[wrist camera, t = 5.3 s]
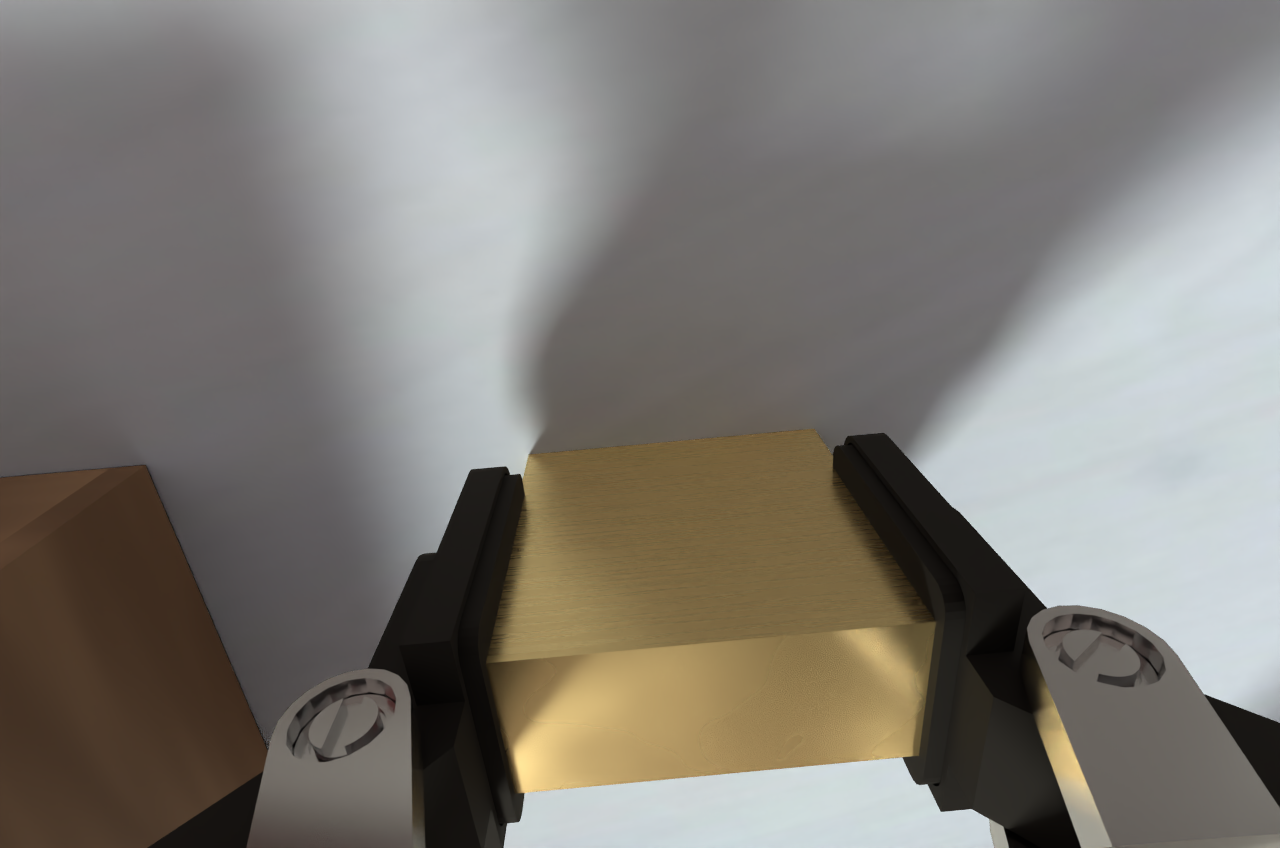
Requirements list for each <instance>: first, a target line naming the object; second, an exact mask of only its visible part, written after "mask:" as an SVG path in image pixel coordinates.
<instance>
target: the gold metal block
mask: <svg viewBox="0 0 1280 848" xmlns="http://www.w3.org/2000/svg"><path fill="white" fill-rule="evenodd" d="M523 486H524V492H525V497H524V501H523V505H522V509H521V514H520V518H519V522H518V527H517V531H516V535H515V540H514V544H513V548H512V553H511V557H510V561H509V566H508V570H507V574H506V579H505V583H504V587H503V592H502V596H501V600H500V604H499V609H498V613H497V617H496V622H495V626H494V630H493V635H492V639H491V643H490V648H489V652H488V656H487V661H486V666H487V671H488V675H489V680H490V684H491V689H492V693H493V698H494V702H495V707H496V711H497V716H498V720H499V725H500V729H501V734H502V738H503V743H504V747H505V752H506V756H507V761H508V765H509V770H510V774H511V778H512V783H513V787H514V792H515V794H516V793H526V792H537V791H547V790H558V789H569V788H579V787H590V786H601V785H611V784H622V783H633V782H643V781H654V780H665V779H675V778H686V777H697V776H707V775H718V774H729V773H739V772H750V771H761V770H771V769H782V768H793V767H803V766H814V765H825V764H835V763H846V762H857V761H867V760H878V759H889V758H899V757H910V756H919V749H920V742H921V734H922V726H923V718H924V711H925V703H926V695H927V687H928V679H929V672H930V664H931V656H932V648H933V640H934V633H935V625H936V621H935V620H934V618H933V617H932V615H931V614H930V612H929V611H928V609H927V608H926V606H925V605H924V603H923V602H922V600H921V599H920V597H919V596H918V594H917V593H916V591H915V590H914V588H913V587H912V585H911V584H910V582H909V581H908V579H907V578H906V576H905V575H904V573H903V572H902V570H901V569H900V567H899V566H898V564H897V563H896V561H895V560H894V558H893V557H892V555H891V554H890V552H889V551H888V549H887V548H886V546H885V545H884V543H883V542H882V540H881V539H880V537H879V536H878V534H877V533H876V531H875V530H874V528H873V527H872V525H871V524H870V522H869V521H868V519H867V517H866V516H865V514H864V513H863V511H862V510H861V508H860V507H859V505H858V504H857V502H856V501H855V499H854V498H853V496H852V495H851V493H850V492H849V490H848V489H847V487H846V486H845V484H844V483H843V481H842V480H841V478H840V477H839V475H838V474H837V472H836V471H835V469H834V468H833V455H832V454H831V452H830V451H829V450H828V448H827V447H826V445H825V444H824V442H823V441H822V439H821V438H820V436H819V435H818V434H817V432H816V431H815V429H806V430H795V431H783V432H772V433H761V434H750V435H739V436H728V437H717V438H706V439H695V440H684V441H673V442H662V443H650V444H639V445H628V446H617V447H606V448H595V449H584V450H573V451H562V452H551V453H540V454H529V456H528V460H527V464H526V468H525V472H524V477H523Z"/></svg>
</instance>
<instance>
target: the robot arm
mask: <svg viewBox="0 0 1280 848" xmlns="http://www.w3.org/2000/svg"><path fill="white" fill-rule="evenodd" d="M833 468H834V469H835V471H836V472H837V474H838V475H839V477H840V478H841V480H842V481H843V483H844V484H845V486H846V487H847V489H848V490H849V492H850V493H851V495H852V496H853V498H854V499H855V501H856V502H857V504H858V505H859V507H860V508H861V510H862V511H863V513H864V514H865V516H866V517H867V519H868V521H869V522H870V524H871V525H872V527H873V528H874V530H875V531H876V533H877V534H878V536H879V537H880V539H881V540H882V542H883V543H884V545H885V546H886V548H887V549H888V551H889V552H890V554H891V555H892V557H893V558H894V560H895V561H896V563H897V564H898V566H899V567H900V569H901V570H902V572H903V573H904V575H905V576H906V578H907V579H908V581H909V582H910V584H911V585H912V587H913V588H914V590H915V591H916V593H917V594H918V596H919V597H920V599H921V600H922V602H923V603H924V605H925V606H926V608H927V609H928V611H929V612H930V614H931V615H932V617H933V618H934V620H935V621H936V625H935V633H934V640H933V648H932V656H931V664H930V672H929V679H928V687H927V695H926V703H925V711H924V718H923V726H922V734H921V742H920V749H919V756H910V757H903V760H904V762H905V764H906V766H907V768H908V770H909V773H910V775H911V776H912V778H913V780H914V781H915V782H916V784H919V785H924V784H928V786H929V788H930V790H931V792H932V794H933V796H934V798H935V800H936V803H937V805H938V807H939V809H940V811H941V812H944V811H954V810H965V809H973V810H975V811H976V812H978V813H980V814H982V815H983V816H985V817H987V818H989V823H990V833H991V837H992V841H993V845H994V848H1280V723H1278V722H1276V721H1273V720H1270V719H1268V718H1265V717H1263V716H1260V715H1257V714H1255V713H1252V712H1249V711H1247V710H1244V709H1241V708H1239V707H1236V706H1234V705H1231V704H1228V703H1226V702H1223V701H1220V700H1218V699H1215V698H1212V697H1210V696H1207V695H1205V694H1203V692H1202V691H1201V689H1200V688H1199V686H1198V685H1197V683H1196V682H1195V680H1194V679H1193V677H1192V676H1191V674H1190V673H1189V671H1188V670H1187V668H1186V667H1185V665H1184V664H1183V663H1182V661H1181V660H1180V658H1179V657H1178V655H1177V654H1176V653H1175V652H1174V651H1173V650H1172V648H1171V647H1170V646H1169V645H1168V644H1167V643H1166V642H1165V641H1164V640H1163V639H1162V638H1160V637H1159V636H1157V635H1156V634H1155V633H1153V632H1152V631H1150V630H1149V629H1148V628H1146V627H1144V626H1142V625H1140V624H1138V623H1136V622H1134V621H1132V620H1130V619H1128V618H1126V617H1124V616H1121V615H1118V614H1115V613H1112V612H1109V611H1105V610H1102V609H1098V608H1091V607H1085V606H1079V605H1071V606H1056V607H1052V608H1048V609H1047V608H1046V607H1045V606H1044V604H1043V603H1042V602H1041V601H1040V600H1039V599H1038V598H1037V597H1036V596H1035V595H1034V593H1033V592H1032V591H1031V590H1030V589H1029V588H1028V587H1027V586H1026V585H1025V584H1024V583H1023V581H1022V580H1021V579H1020V578H1019V577H1018V576H1017V575H1016V574H1015V573H1014V572H1013V570H1012V569H1011V568H1010V567H1009V566H1008V565H1007V564H1006V563H1005V562H1004V561H1003V559H1002V558H1001V557H1000V556H999V555H998V554H997V553H996V552H995V551H994V550H993V549H992V547H991V546H990V545H989V544H988V543H987V542H986V541H985V540H984V539H983V538H982V536H981V535H980V534H979V533H978V532H977V531H976V530H975V529H974V528H973V527H972V525H971V524H970V523H969V522H968V521H967V520H966V519H965V518H964V517H963V516H962V515H961V513H960V512H958V511H957V510H956V509H954V508H952V507H951V505H950V504H949V503H948V502H947V501H946V500H945V499H944V498H943V497H942V495H941V494H940V493H939V492H938V491H937V490H936V489H935V488H934V487H933V486H932V484H931V483H930V482H929V481H928V480H927V479H926V478H925V477H924V476H923V474H922V473H921V472H920V471H919V470H918V469H917V468H916V467H915V466H914V465H913V463H912V462H911V461H910V460H909V459H908V458H907V457H906V456H905V455H904V453H903V452H902V451H901V450H900V449H899V448H898V447H897V446H896V445H895V444H894V442H893V441H892V440H891V439H890V438H889V437H888V436H887V435H886V434H885V433H878V434H866V435H855V436H848V437H847V438H846V440H845V443H844V445H842V446H836V447H835V449H834V453H833ZM524 497H525V492H524V486H523V481H522V477H521V475H520V474H515V475H510V473H509V470H508V468H507V467H494V468H483V469H472V470H471V471H470V472H469V474H468V477H467V479H466V482H465V484H464V487H463V489H462V492H461V494H460V496H459V499H458V501H457V504H456V506H455V509H454V511H453V514H452V516H451V519H450V521H449V524H448V526H447V529H446V531H445V533H444V536H443V538H442V541H441V543H440V546H439V548H438V551H437V553H427V554H422V555H420V556H419V557H418V559H417V560H416V562H415V564H414V566H413V569H412V571H411V573H410V575H409V577H408V580H407V582H406V584H405V586H404V589H403V591H402V593H401V595H400V598H399V600H398V602H397V604H396V607H395V609H394V611H393V613H392V616H391V618H390V620H389V622H388V625H387V627H386V629H385V631H384V634H383V636H382V638H381V640H380V642H379V645H378V647H377V649H376V651H375V654H374V656H373V658H372V660H371V663H370V665H369V667H368V669H361V670H355V671H349V672H346V673H343V674H340V675H338V676H335V677H332V678H329V679H327V680H325V681H323V682H322V683H320V684H318V685H317V686H315V687H313V688H311V689H310V690H308V691H307V692H306V693H304V694H303V695H302V696H301V697H300V698H298V699H297V700H296V701H295V702H294V703H292V704H291V705H290V707H289V708H288V709H287V710H286V712H285V713H284V714H283V715H282V717H281V718H280V719H279V721H278V722H277V725H276V727H275V729H274V732H273V734H272V737H271V740H270V744H269V749H268V753H267V758H266V762H265V767H264V771H263V772H261V773H260V774H258V775H257V776H255V777H254V778H252V779H251V780H249V781H247V782H246V783H244V784H243V785H241V786H240V787H238V788H237V789H235V790H234V791H232V792H231V793H229V794H228V795H226V796H225V797H223V798H222V799H220V800H219V801H217V802H216V803H214V804H213V805H211V806H210V807H208V808H207V809H205V810H204V811H202V812H201V813H199V814H197V815H196V816H194V817H193V818H191V819H190V820H188V821H187V822H185V823H184V824H182V825H181V826H179V827H178V828H176V829H175V830H173V831H172V832H170V833H169V834H167V835H166V836H164V837H163V838H161V839H160V840H158V841H157V842H155V843H154V844H152V845H151V846H149V847H147V848H503V847H504V840H505V833H506V826H507V823H514V822H519V821H520V819H521V815H522V809H523V801H524V793H516V794H515V792H514V787H513V783H512V778H511V774H510V770H509V765H508V761H507V756H506V752H505V747H504V743H503V738H502V734H501V729H500V725H499V720H498V716H497V711H496V707H495V702H494V698H493V693H492V689H491V684H490V680H489V675H488V671H487V666H486V661H487V656H488V652H489V648H490V643H491V639H492V635H493V630H494V626H495V622H496V617H497V613H498V609H499V604H500V600H501V596H502V592H503V587H504V583H505V579H506V574H507V570H508V566H509V561H510V557H511V553H512V548H513V544H514V540H515V535H516V531H517V527H518V522H519V518H520V514H521V509H522V505H523V501H524Z"/></svg>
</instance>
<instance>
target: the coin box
mask: <svg viewBox="0 0 1280 848" xmlns="http://www.w3.org/2000/svg"><path fill="white" fill-rule="evenodd" d="M267 753H268V750H267V748H266V746H265V743H264V741H263V739H262V736H261V734H260V732H259V729H258V727H257V725H256V722H255V720H254V718H253V715H252V713H251V711H250V708H249V706H248V704H247V701H246V699H245V697H244V694H243V692H242V690H241V687H240V685H239V683H238V680H237V678H236V676H235V673H234V671H233V669H232V666H231V664H230V662H229V659H228V657H227V655H226V652H225V650H224V648H223V645H222V643H221V641H220V638H219V636H218V634H217V631H216V629H215V627H214V624H213V622H212V620H211V617H210V615H209V613H208V610H207V608H206V606H205V603H204V601H203V599H202V596H201V594H200V591H199V589H198V587H197V584H196V582H195V580H194V577H193V575H192V573H191V570H190V568H189V566H188V563H187V561H186V559H185V556H184V554H183V552H182V549H181V547H180V545H179V542H178V540H177V538H176V535H175V533H174V531H173V528H172V526H171V524H170V521H169V519H168V517H167V514H166V512H165V510H164V507H163V505H162V503H161V500H160V498H159V496H158V493H157V491H156V489H155V486H154V484H153V482H152V479H151V477H150V475H149V472H148V470H147V468H146V465H140V466H128V467H117V468H106V469H94V470H83V471H71V472H60V473H49V474H37V475H26V476H15V477H3V478H0V848H147V847H149V846H151V845H152V844H154V843H155V842H157V841H158V840H160V839H161V838H163V837H164V836H166V835H167V834H169V833H170V832H172V831H173V830H175V829H176V828H178V827H179V826H181V825H182V824H184V823H185V822H187V821H188V820H190V819H191V818H193V817H194V816H196V815H197V814H199V813H201V812H202V811H204V810H205V809H207V808H208V807H210V806H211V805H213V804H214V803H216V802H217V801H219V800H220V799H222V798H223V797H225V796H226V795H228V794H229V793H231V792H232V791H234V790H235V789H237V788H238V787H240V786H241V785H243V784H244V783H246V782H247V781H249V780H251V779H252V778H254V777H255V776H257V775H258V774H260V773H261V772H263V771H264V767H265V762H266V758H267Z"/></svg>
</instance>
